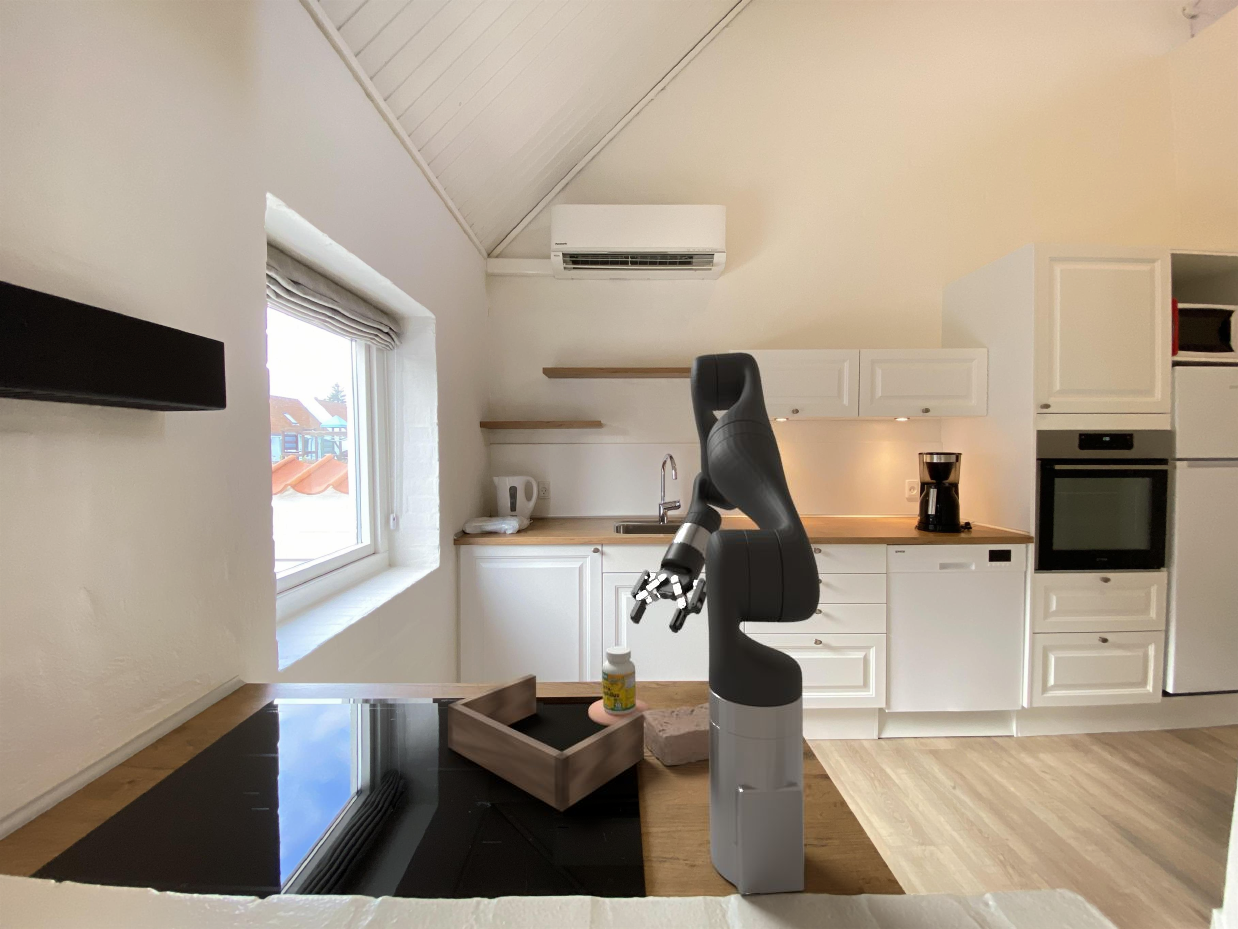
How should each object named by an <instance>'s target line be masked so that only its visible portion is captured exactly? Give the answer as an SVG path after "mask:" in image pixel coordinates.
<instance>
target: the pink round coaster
mask: <svg viewBox="0 0 1238 929" xmlns="http://www.w3.org/2000/svg"><path fill="white" fill-rule="evenodd" d="M649 710H651V709H650V705H649V704H648V703H646V702H644V701H642V700H641V699H637V698H636V708H635V710H634V711H633V712H632V713H630V714H626V715H612V714H609V713H607V712H606V711H605V710H604V708H603V698H602V699H600V700H597V701H595V702H593V703H592V704H591V705H590V706H589V708H588V717H589V718H590V720H591V721H593V722H594V723H596V724H598V725H601V726H605V727H609V726H611V725H613V724H614V723H616V722H618V721H620V720H622V719H624V718H626V717H627V716H629V715H631V714H633V713H635V712H640V713H643V712H644V711H649Z"/></svg>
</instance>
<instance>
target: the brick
mask: <svg viewBox="0 0 1238 929" xmlns="http://www.w3.org/2000/svg"><path fill="white" fill-rule="evenodd" d="M643 714H644V745H646V747H647V748H648V750H650V751H651V752H652V753H653V756H654V757H655V758H657V759H658V760H659V761H660V762H661V763H662V764H663V765H665V766H676V765H677V766H678V765H686V764H687V763H695V762H697V761H703V760H707V759H708V760H709V702H706V703H702V704H698V705H696V706H695V707H694V706H693V707H692V706H689V707H688V706H681V707H676V708H663V709H662V708H661V709H660V708H659V709H650V710H649V711H644V712H643Z"/></svg>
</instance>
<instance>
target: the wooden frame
mask: <svg viewBox="0 0 1238 929" xmlns="http://www.w3.org/2000/svg"><path fill="white" fill-rule="evenodd" d="M536 713H537V675H536V674H532V673H530V674H527V675H525V676H522V677H519V678H517V679H514V680H511V681H508V682H506V683H503V684H501V685H498V686H495V687H493V688H490V689H486V690H485V691H482V692H479V693H477V694H473V695H471V696H468V697H465V698H463V699H460V700H457V701H454V702H453V703H450V704H449V703H448V705H447V747H448V748H449V749H451V750H452V751H454V752H456V753H458V754H460V755H461V756H463V757H464V758H467V759H468V760H470V761H472V762H474V763H476V764H477V765H479V766H481V767H482V768H484V769H486V770H488V771H490V772H492V774H494V775H496V776H498V777H500V778H501V779H504V780H506V781H507V782H509V783H511V784H513V785H515V786H516V787H518V788H519V789H521V790H523V791H525V792H527V793H528V794H529V795H531V796H534V797H535V798H537V799H538V800H541V801H542V802H544V803H545V804H548V805H549V806H551V807H553V808H554V809H557V810H558V811H560V812H563V811H565V810H566V809H568V808H570V807H571V806H573V805H575V804H576V803H577V802H579V801H580V800H582V799H584V798H585V797H587V796H588V795H590V794H591V793H593V792H595V791H596V790H597V789H599V788H601V787H602V786H603V785H605V784H606V783H608V782H609V781H611V780H613V779H614V778H616V777H617V776H619V775H620V774H621V773H623V772H624V771H626V770H628V769H630V768H631V767H632V766H634V765H635V764H636V763H639V762H640V761H642V760H643V759H644V758H645V743H644V714H643V713H640V712H635V713H633V714H631V715H629V716H627V717H626V718H624V719H622V720H620V721H618V722H616V723H614V724H613V725H611V726H606V727H605V728H604V729H601V730H600V731H598V732H596V733H594V734H592V735H591V736H588V737H587V738H584V740H582V741H580V742H577V743H576V744H574V745H572V746H570V747H568V748H567V749H565V750H563V751H560V750H559V749H556V748H554V747H552V746H549V745H548V744H546V743H543V742H542V741H539V740H537V739H535V738H533V737H531V736H529V735H527V734H524V733H522V732H519V731H518V730H515V729H513V728H511V727H509V725H511V724H515V723H516V722H518V721H521V720H523V719H525V718H527V717H530V716H533V715H534V714H536Z"/></svg>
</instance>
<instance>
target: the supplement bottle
mask: <svg viewBox="0 0 1238 929" xmlns="http://www.w3.org/2000/svg"><path fill="white" fill-rule="evenodd" d="M605 650H606V652H605V658H606V661H605V662H604V663H603V665H602V672H601V673H602V699H603V708H604V710H605V711H606V712H607V713H609V714H612V715H626V714H630V713H632V712H633V711H634V710H635V708H636V699H637V697H636V696H637V694H636V693H637V692H636V690H637V689H636V683H637V682H636V681H637V680H636V665H635V663H634V662H633V661H632V660H631V658H632V653H631V652H632V651H631V649H630V648H629V647H626V646H621V645H620V646H616V645H615V646H611V647H608V648H607V649H605Z"/></svg>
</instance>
